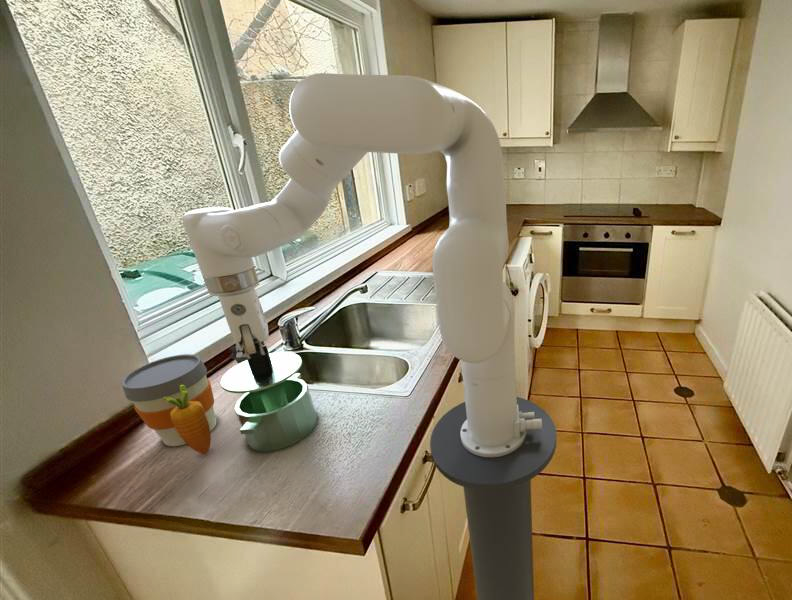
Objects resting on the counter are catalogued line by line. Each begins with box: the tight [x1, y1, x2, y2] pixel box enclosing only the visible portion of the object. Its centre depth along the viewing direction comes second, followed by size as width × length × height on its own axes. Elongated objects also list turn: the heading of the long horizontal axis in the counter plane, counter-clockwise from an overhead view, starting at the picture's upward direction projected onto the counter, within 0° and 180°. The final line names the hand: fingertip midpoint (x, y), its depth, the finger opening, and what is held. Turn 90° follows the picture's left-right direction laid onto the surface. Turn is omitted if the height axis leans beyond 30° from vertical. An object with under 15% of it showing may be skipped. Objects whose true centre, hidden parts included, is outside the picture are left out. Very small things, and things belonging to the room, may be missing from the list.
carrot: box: [163, 385, 212, 455], centre depth 73 cm, size 5×5×15 cm
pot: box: [233, 372, 318, 453], centre depth 80 cm, size 13×18×8 cm
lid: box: [220, 344, 303, 394], centre depth 75 cm, size 14×14×7 cm
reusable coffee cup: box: [121, 353, 217, 447], centre depth 79 cm, size 13×13×15 cm
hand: (262, 369), depth 75 cm, fingers closed on lid, 2 cm apart
